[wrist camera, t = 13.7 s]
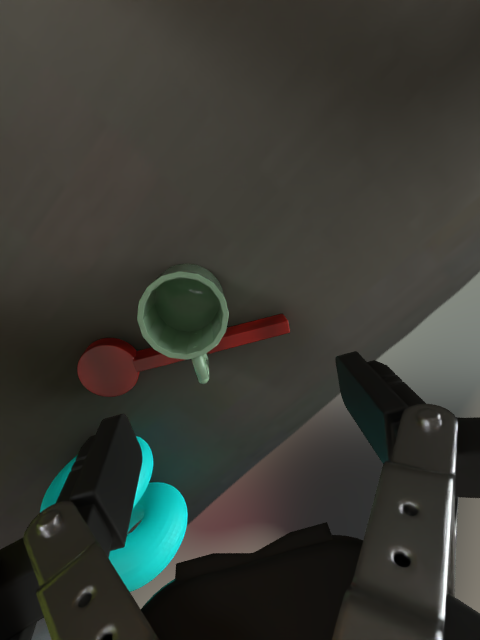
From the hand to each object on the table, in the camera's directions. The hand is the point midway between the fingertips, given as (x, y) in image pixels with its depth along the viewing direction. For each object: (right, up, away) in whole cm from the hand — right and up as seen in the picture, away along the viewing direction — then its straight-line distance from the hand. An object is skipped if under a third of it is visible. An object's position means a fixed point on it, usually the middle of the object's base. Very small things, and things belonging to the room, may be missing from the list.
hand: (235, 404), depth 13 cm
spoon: (-5, +1, +19) cm, 20 cm away
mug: (-4, +4, +18) cm, 19 cm away
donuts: (-12, -12, +24) cm, 29 cm away
